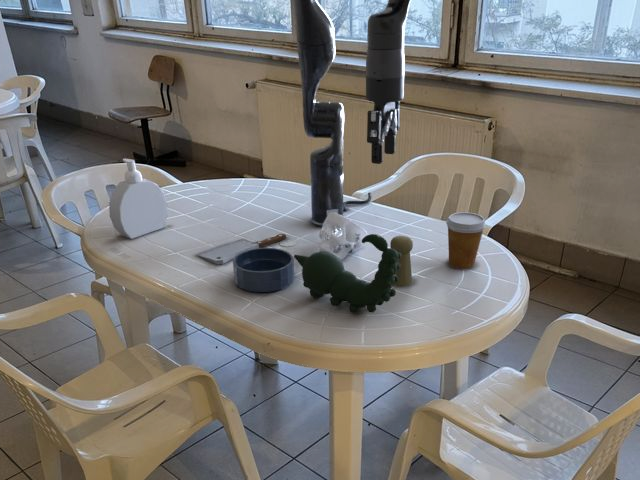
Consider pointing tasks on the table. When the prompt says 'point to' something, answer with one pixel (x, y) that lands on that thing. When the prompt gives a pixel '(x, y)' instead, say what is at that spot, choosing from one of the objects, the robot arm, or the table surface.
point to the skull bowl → (340, 235)
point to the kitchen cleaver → (236, 249)
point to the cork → (403, 260)
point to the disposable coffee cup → (464, 238)
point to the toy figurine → (351, 277)
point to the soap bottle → (137, 205)
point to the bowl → (263, 269)
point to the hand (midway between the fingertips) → (383, 158)
